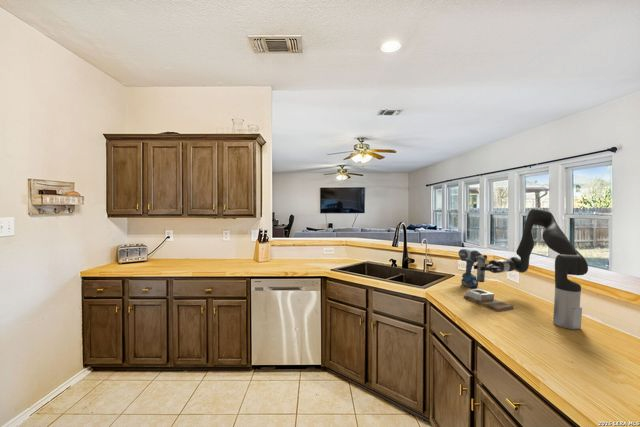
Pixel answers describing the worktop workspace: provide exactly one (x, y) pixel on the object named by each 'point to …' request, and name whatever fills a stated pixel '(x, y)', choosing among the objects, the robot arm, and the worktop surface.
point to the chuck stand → (486, 299)
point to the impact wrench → (469, 266)
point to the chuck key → (479, 273)
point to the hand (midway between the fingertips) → (477, 268)
